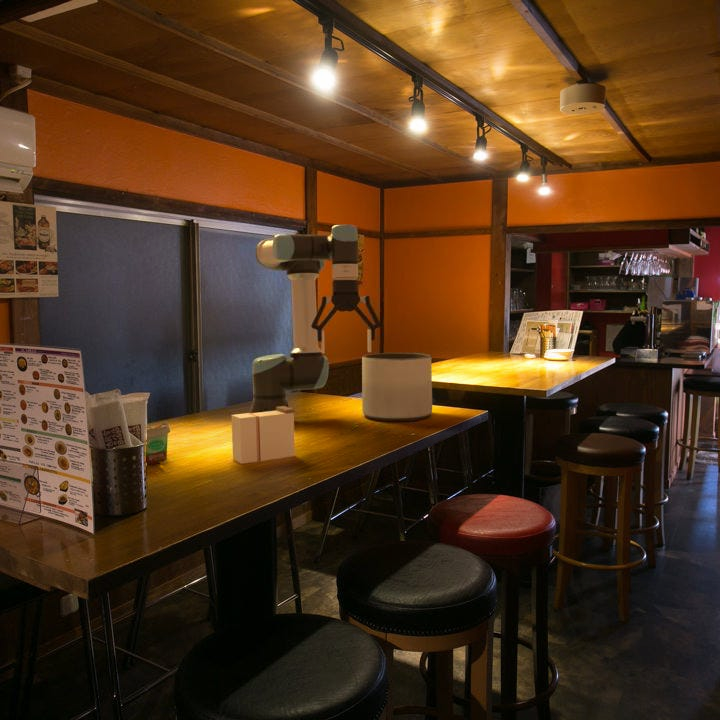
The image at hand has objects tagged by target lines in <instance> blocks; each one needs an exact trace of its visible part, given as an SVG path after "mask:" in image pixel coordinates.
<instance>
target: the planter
mask: <svg viewBox="0 0 720 720" xmlns="http://www.w3.org/2000/svg"><path fill="white" fill-rule="evenodd" d="M361 359H362V360H361V363H362V364H361V370H362V371H361V375H362V377H361V378H362V379H361V380H362V381H361V383H362V384H361V385H362V386H361V389H362V390H361V391H362V392H361V395H362V396H361V399H362V400H361V403H362V404H361V408H362V409H361V410H362V414H363V415H364V416H365V417H366V418H368V419H371V420H374V421H380V422H381V421H382V422H412V421H419V419H420V420H422V419H425V418H426V419H427V418H428V417H429V416H430V415H432V413H433V382H432V379H433V378H432V375H433V374H432V370H433V369H432V356H431V355H430V354H428V353H417V352H384V353H383V352H382V353H371V354H364V355H363V356H362V357H361Z"/></svg>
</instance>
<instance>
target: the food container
mask: <svg viewBox="0 0 720 720" xmlns="http://www.w3.org/2000/svg"><path fill="white" fill-rule="evenodd" d="M146 427H147V444H146V463H147V466H146V467H151V466H152V467H153V466H159V465H161V463H160V462H163V461H165V460H167V458H168V457H167V455H168V439H169V437H168V436H169V435H168V434H169V433H171V428H170V425H169V423H168V422H165V421H162V423H161V425H157V426H146Z"/></svg>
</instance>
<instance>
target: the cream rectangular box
mask: <svg viewBox="0 0 720 720" xmlns="http://www.w3.org/2000/svg"><path fill="white" fill-rule="evenodd" d="M294 409H295V408H293V407H290V406H289V407H285V406H280V407H276V411H268V412H259V413H251V414H253V415H256V416H258V434H259V461H258V462H263V461H264V462H265V461H269V460H270V461H271V460H277V459H283V458H284V459H285V458H289V457H295V456H296V446H295V414H294V412H295V410H294Z"/></svg>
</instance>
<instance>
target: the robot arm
mask: <svg viewBox="0 0 720 720" xmlns="http://www.w3.org/2000/svg"><path fill="white" fill-rule="evenodd" d="M330 233H331V234H297V233H296V234H292V233H291V234H288V233H282V234H279V233H278V234H275V235H274V237H269V238H265V239H262V240H261V241H260V242H259V243H258V244H257V245H256V247H255V251H254V256H255V258H256V261H257V262H258V263H259V265H261V266H262V267H263V268H266V269H268V270H272V271H281V272H284V271H285V272H286V277H287V278H288V279H289V280H290V283H291V303H292V305H291V306H292V307H291V308H292V329H293V331H292V332H293V349H292V350H291V351H290V352H289V353H290V354H289V356H290V357H287V356H286V355H285V354H284V353H278V354H277V353H276V354H269V355H268V354H267V355H264V356H259V357H257V358H255V359H254V360H253V362H252V369H251V370H252V371H251V373H252V395H253V400H252V405H251V407H250V411H249V413H259V412H268V411H276V407H280V406H285V407H289V408H290V405H289V403H288V399H287V398H288V397H287V391H300V390H303V391H304V390H317V389H322V388H323V387H324V386H325V385H326V383H327V381H328V377H329V370H330V369H329V367H330V365H329V359H328V357H327V356H326V355H324V354H325V351H326V350H325V349H326V348H325V346H326V345H325V344H326V343H325V330H324V327H325V326H326V325H327V324H328V322H329V321H330V320H331V319H332V317H333V316H334V315H335V314H336V313H337V312H338V311H339V313H340V312H353V311H355V312H356V314H357V315H358V316H359V317H360V318H361V319H362V322H363V321H364V323H365V324H366V326H367V327H369V329H368V328H367V352H368V353H372V341H375V339H376V333H375V332H376V329H378V328H381V326H382V324H381V321H380V320H379V318H378V316H377V315H376V313H375V310H374V308H373V306H372V304H371V300H370V296H369V295H365V296H360V294H359V280H358V278H359V236H358V235H359V233H358V228H357V226H356V225H353V224H336V225H333V226H332V227H331V232H330ZM325 261H328V262H331V277H332V279H333V280H332V283H331V284H332V296H331V297H330V296H329V297H328V296H322V297H321V304H320V306H319V308H317V292H316V290H317V289H316V288H317V287H316V280H317V279H318V277H319V276H320V272H321V271H322V270H323V269H324V267H325ZM330 302H331V304H332V305H333V307H332V309H331V310H330V311H329V312H328V314H327V315H326V316H325V317H324V318H323V320H322V321H321V322H320V324H319V325H318V322H319V320H320V318H321V317H322V314H323V312H324V310H325V308H326V305H328V304H329V303H330ZM360 302H362V304H365V308H367V311H368V313H369V315H370V317H371V318H372V321H373V322H374V323H372V322H371V321H370V319H369V318H368V317H367V316H366V315H365V314H364V312H363V311H362V310H361V309H360V308H359V307H358V305H359V303H360ZM317 309H318V310H317ZM319 342H321V343H320V344H321V348H320V347H319Z"/></svg>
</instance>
